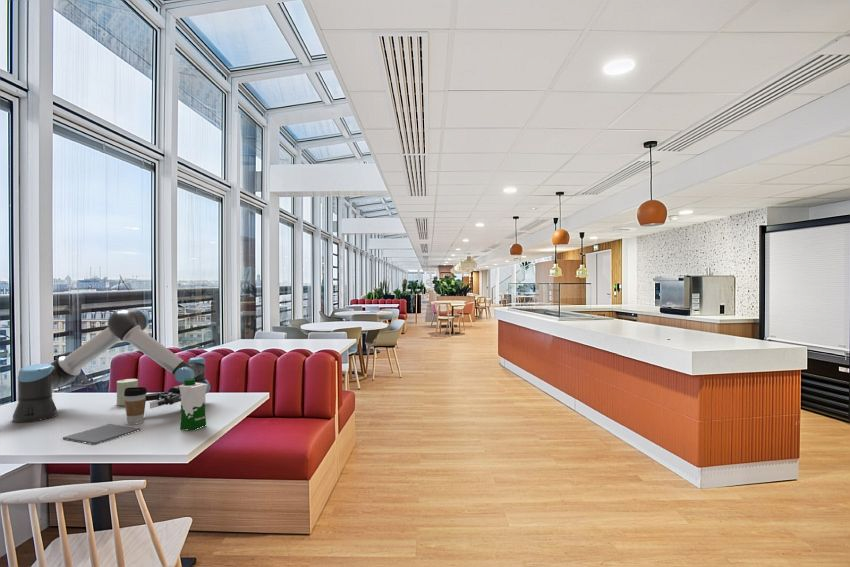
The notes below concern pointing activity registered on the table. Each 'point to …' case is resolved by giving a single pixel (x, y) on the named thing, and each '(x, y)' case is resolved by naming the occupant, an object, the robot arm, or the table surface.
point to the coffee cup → (135, 404)
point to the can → (121, 389)
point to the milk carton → (192, 404)
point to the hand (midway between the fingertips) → (139, 404)
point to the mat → (101, 433)
